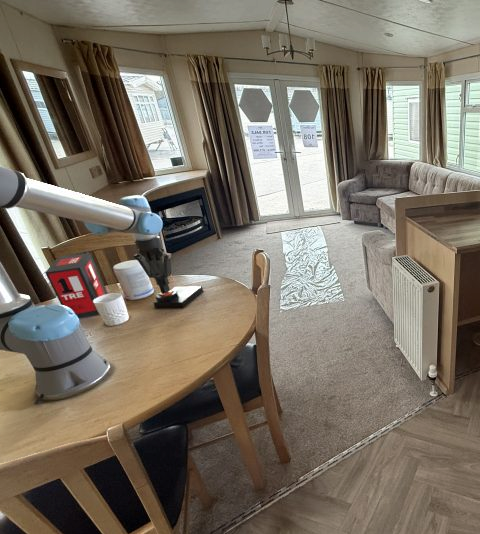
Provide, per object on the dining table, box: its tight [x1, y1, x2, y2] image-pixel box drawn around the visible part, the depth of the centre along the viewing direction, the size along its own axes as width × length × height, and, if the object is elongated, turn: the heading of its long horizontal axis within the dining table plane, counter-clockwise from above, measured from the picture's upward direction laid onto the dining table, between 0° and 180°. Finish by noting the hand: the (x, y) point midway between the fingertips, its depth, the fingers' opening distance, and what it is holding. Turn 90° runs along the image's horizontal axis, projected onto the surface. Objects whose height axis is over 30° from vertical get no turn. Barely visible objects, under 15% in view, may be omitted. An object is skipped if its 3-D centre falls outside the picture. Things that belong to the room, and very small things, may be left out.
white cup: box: [93, 292, 130, 327], centre depth 125 cm, size 8×8×10 cm
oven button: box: [159, 289, 173, 297], centre depth 138 cm, size 4×4×2 cm
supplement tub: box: [112, 259, 155, 301], centre depth 142 cm, size 10×10×15 cm
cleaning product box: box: [44, 252, 109, 319], centre depth 131 cm, size 16×9×20 cm, turn 33°
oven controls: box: [152, 285, 204, 309], centre depth 142 cm, size 14×11×4 cm
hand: (165, 291), depth 138 cm, fingers closed
